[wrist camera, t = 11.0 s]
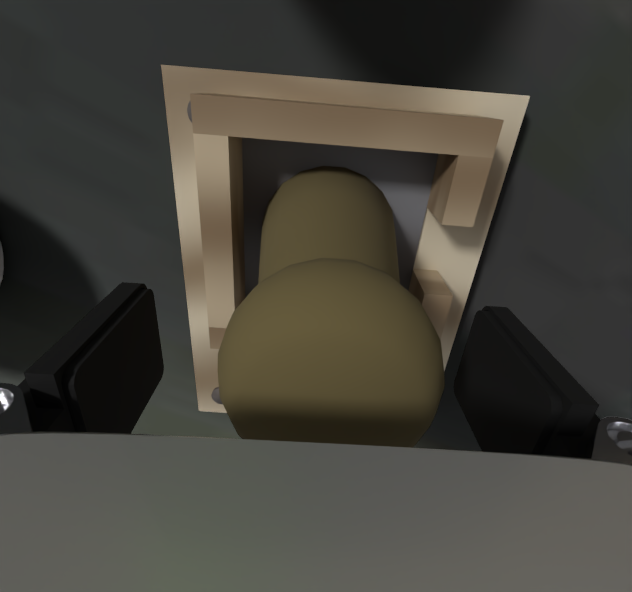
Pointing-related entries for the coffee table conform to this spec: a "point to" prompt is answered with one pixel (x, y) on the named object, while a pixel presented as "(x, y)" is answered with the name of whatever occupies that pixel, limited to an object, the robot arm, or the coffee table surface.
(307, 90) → the pocket board
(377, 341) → the olive tall rounded piece
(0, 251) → the ramekin
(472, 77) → the coffee table surface
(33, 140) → the coffee table surface
